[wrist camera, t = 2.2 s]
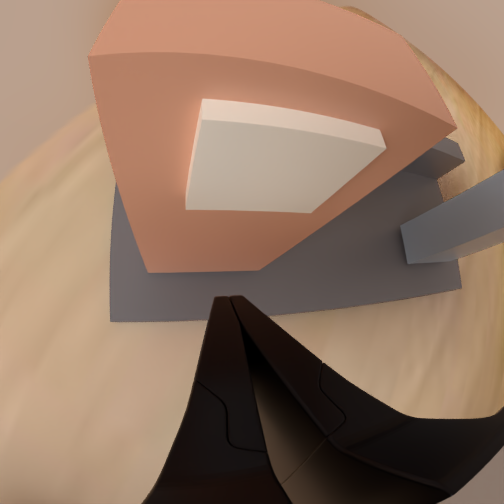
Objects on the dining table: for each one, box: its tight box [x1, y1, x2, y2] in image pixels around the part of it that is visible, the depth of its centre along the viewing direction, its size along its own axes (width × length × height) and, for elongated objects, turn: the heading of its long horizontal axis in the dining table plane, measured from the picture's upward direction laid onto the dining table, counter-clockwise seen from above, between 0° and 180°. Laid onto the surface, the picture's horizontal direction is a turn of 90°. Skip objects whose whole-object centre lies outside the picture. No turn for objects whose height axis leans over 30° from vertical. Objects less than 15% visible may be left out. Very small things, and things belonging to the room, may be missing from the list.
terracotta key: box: [88, 0, 457, 273], centre depth 10 cm, size 3×6×13 cm, turn 94°
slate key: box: [400, 169, 504, 264], centre depth 14 cm, size 3×6×13 cm, turn 94°
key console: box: [110, 137, 465, 322], centre depth 18 cm, size 13×28×5 cm, turn 94°
